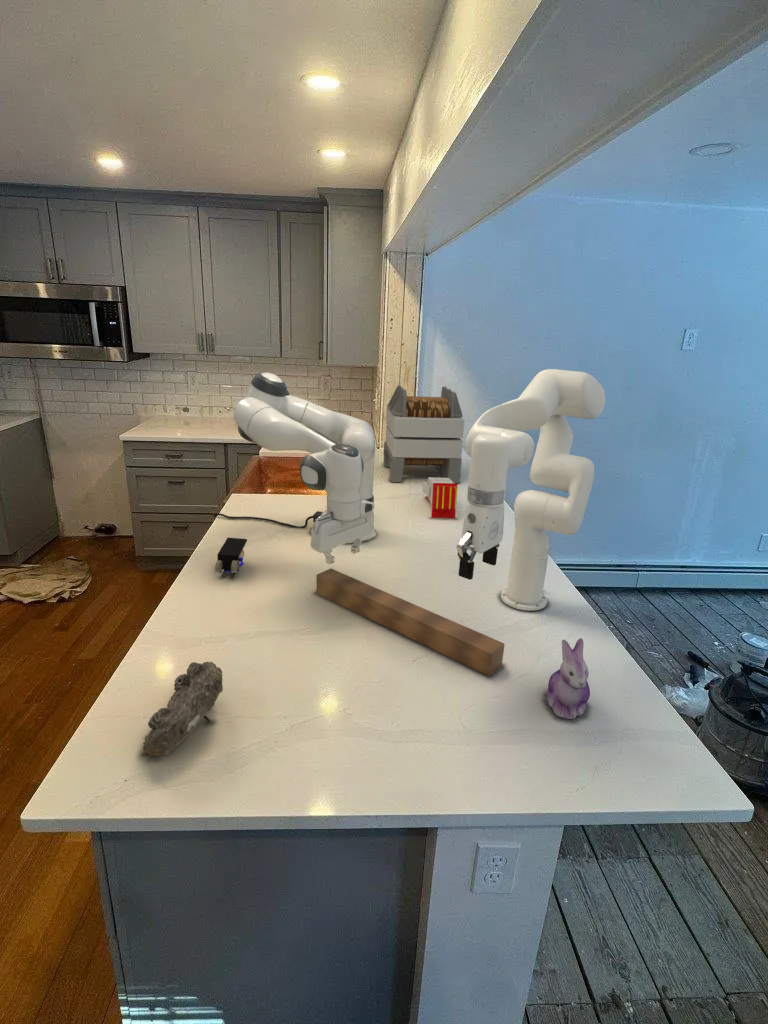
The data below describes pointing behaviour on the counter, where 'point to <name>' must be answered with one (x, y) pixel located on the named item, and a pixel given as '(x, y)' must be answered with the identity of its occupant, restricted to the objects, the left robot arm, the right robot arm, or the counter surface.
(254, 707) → the counter surface
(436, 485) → the toy
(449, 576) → the counter surface
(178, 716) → the fossil
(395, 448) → the transformer
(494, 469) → the right robot arm
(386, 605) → the beam
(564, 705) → the figurine
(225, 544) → the figurine character
